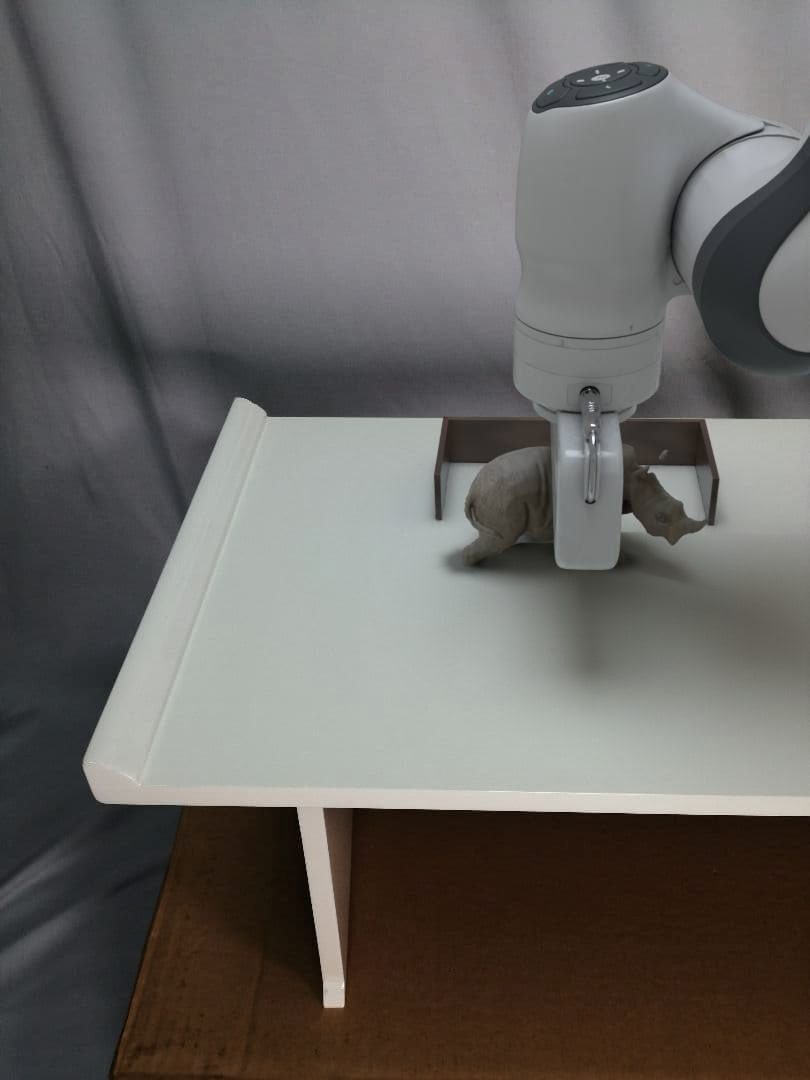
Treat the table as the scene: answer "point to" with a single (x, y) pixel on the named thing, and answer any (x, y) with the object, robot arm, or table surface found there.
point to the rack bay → (509, 434)
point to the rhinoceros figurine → (527, 503)
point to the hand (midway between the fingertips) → (577, 547)
